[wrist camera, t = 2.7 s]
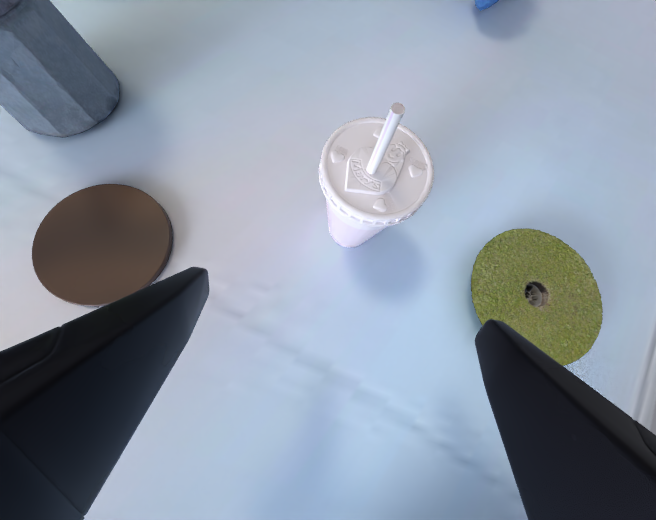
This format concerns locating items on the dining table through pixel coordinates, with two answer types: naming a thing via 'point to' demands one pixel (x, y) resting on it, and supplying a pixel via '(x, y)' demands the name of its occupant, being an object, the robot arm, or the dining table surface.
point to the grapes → (484, 4)
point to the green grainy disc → (538, 292)
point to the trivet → (102, 244)
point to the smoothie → (373, 176)
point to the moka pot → (51, 71)
